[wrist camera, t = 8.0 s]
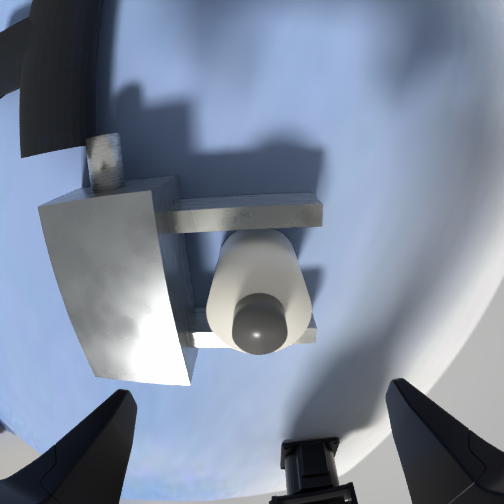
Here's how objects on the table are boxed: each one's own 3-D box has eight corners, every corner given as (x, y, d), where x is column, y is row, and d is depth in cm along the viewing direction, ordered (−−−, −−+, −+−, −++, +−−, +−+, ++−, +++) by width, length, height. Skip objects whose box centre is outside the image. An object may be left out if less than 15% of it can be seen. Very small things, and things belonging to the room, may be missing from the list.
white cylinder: (295, 293, 20) (313, 370, 13) (222, 296, 21) (209, 374, 14) (296, 223, 19) (321, 280, 12) (215, 227, 19) (194, 285, 12)
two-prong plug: (307, 333, 22) (318, 380, 17) (118, 335, 22) (95, 376, 17) (310, 117, 16) (331, 112, 11) (76, 144, 16) (29, 152, 12)
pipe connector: (-47, 178, 12) (-28, -7, 6) (-3, 164, 17) (9, 5, 11) (67, 148, 12) (96, -75, 6) (109, 141, 17) (124, -43, 11)
